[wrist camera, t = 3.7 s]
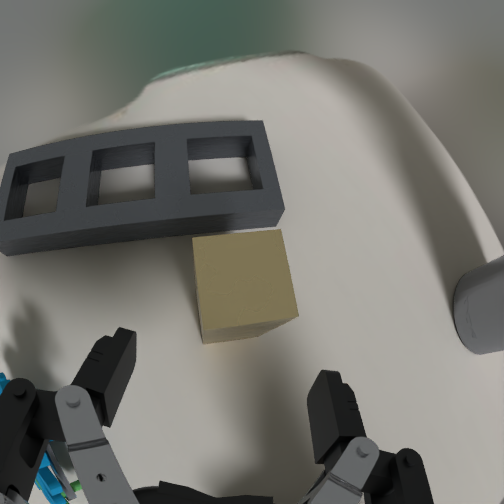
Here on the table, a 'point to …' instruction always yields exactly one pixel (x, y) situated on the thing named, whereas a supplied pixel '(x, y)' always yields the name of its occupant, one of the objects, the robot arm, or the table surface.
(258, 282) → the brass post
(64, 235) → the grey flat frame block
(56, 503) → the gear
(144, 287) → the table surface
